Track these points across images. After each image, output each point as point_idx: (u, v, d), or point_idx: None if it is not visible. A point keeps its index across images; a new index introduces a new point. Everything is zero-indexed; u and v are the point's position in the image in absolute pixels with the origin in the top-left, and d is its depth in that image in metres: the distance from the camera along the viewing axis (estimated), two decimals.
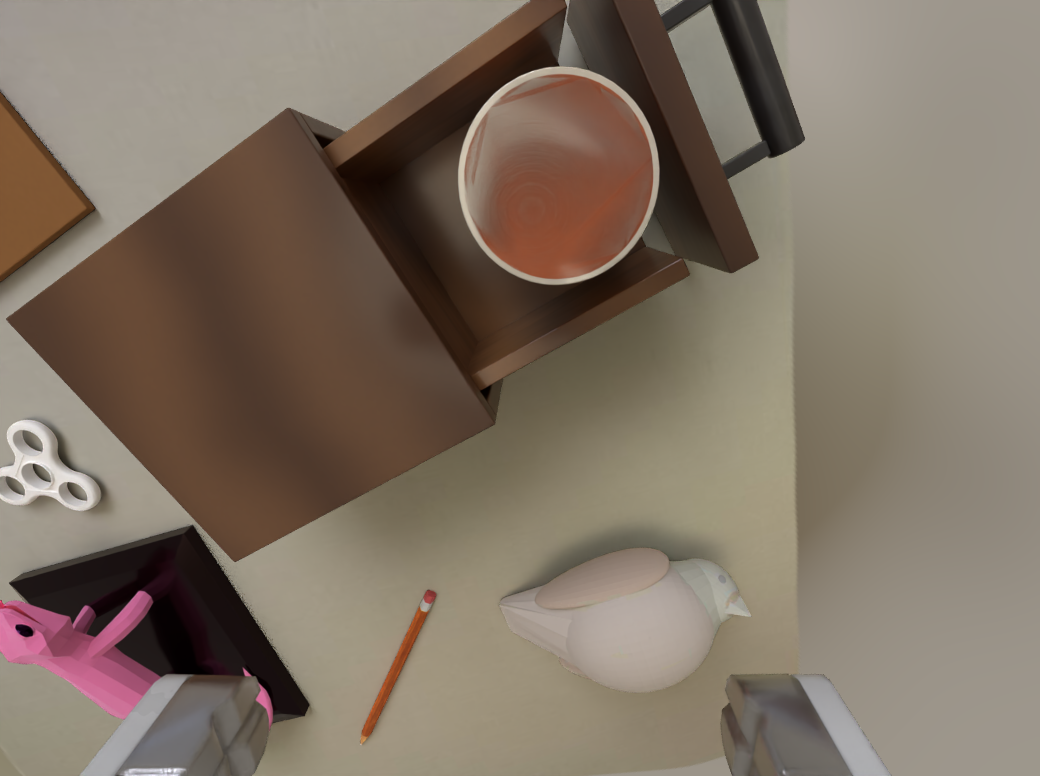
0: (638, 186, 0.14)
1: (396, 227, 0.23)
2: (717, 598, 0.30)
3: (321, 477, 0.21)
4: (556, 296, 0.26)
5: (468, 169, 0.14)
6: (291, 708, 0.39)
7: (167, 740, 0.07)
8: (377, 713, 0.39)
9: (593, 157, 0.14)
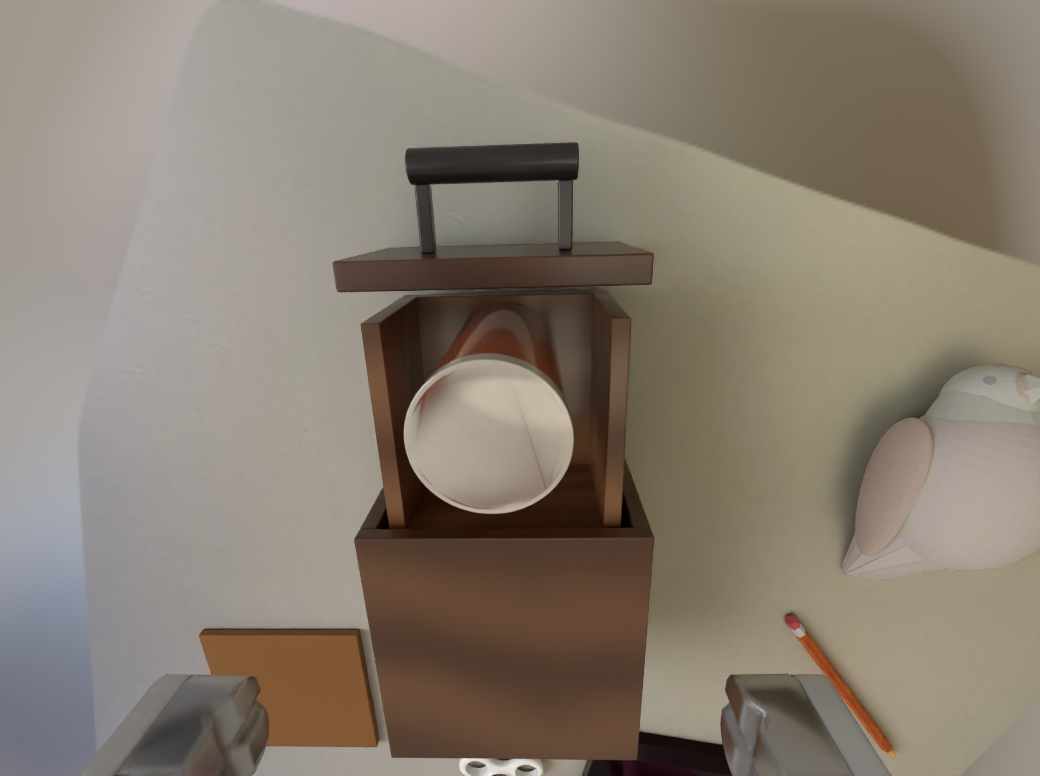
0: (523, 386, 0.16)
1: None
2: (1007, 401, 0.24)
3: (611, 671, 0.24)
4: (590, 386, 0.27)
5: (445, 493, 0.17)
6: None
7: (167, 740, 0.07)
8: (874, 729, 0.37)
9: (484, 409, 0.16)
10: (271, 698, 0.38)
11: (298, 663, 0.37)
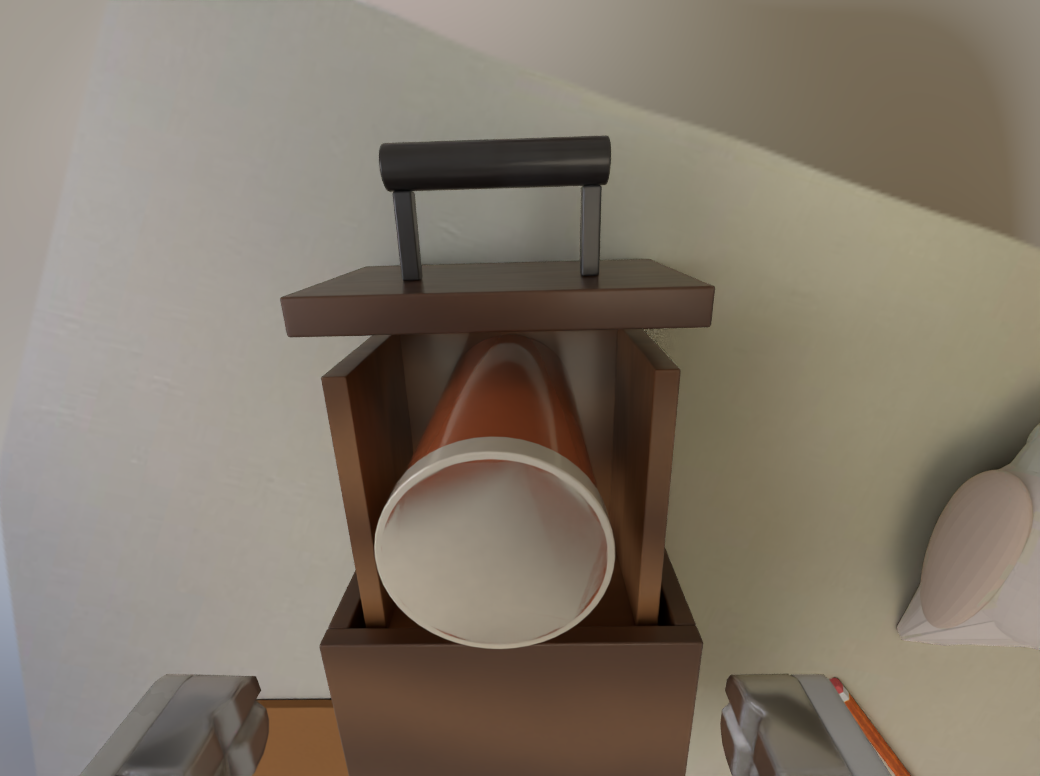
0: (545, 487, 0.11)
1: None
2: None
3: None
4: (612, 433, 0.23)
5: (435, 624, 0.12)
6: None
7: (167, 740, 0.07)
8: None
9: (488, 517, 0.11)
10: None
11: (270, 737, 0.32)
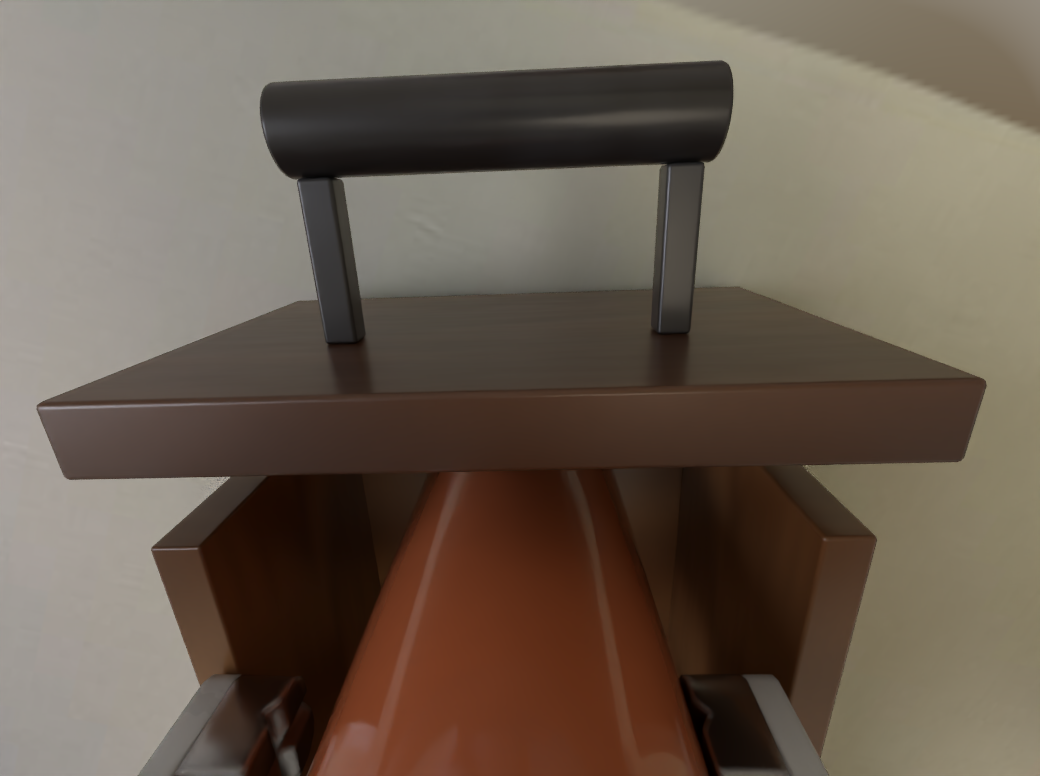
0: None
1: None
2: None
3: None
4: (674, 547, 0.15)
5: None
6: None
7: (222, 741, 0.07)
8: None
9: None
10: None
11: None
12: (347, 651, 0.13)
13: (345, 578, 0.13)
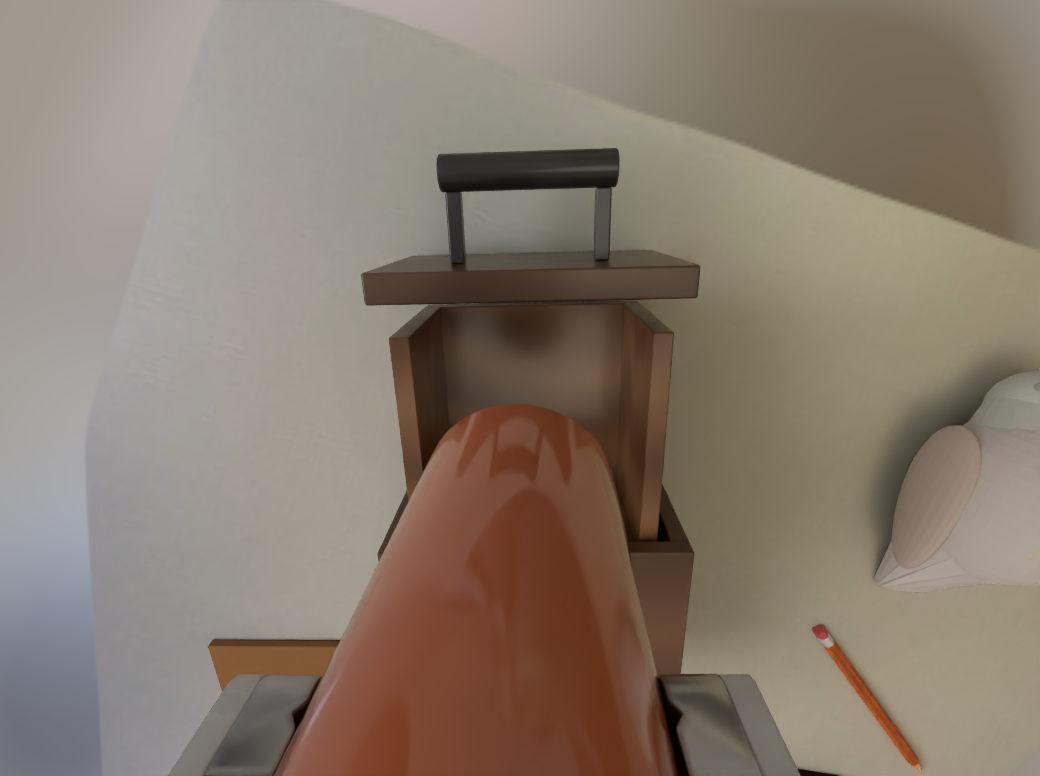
0: None
1: None
2: None
3: None
4: (619, 400, 0.26)
5: None
6: None
7: (251, 741, 0.07)
8: (901, 741, 0.36)
9: None
10: None
11: (310, 675, 0.36)
12: None
13: (438, 402, 0.24)
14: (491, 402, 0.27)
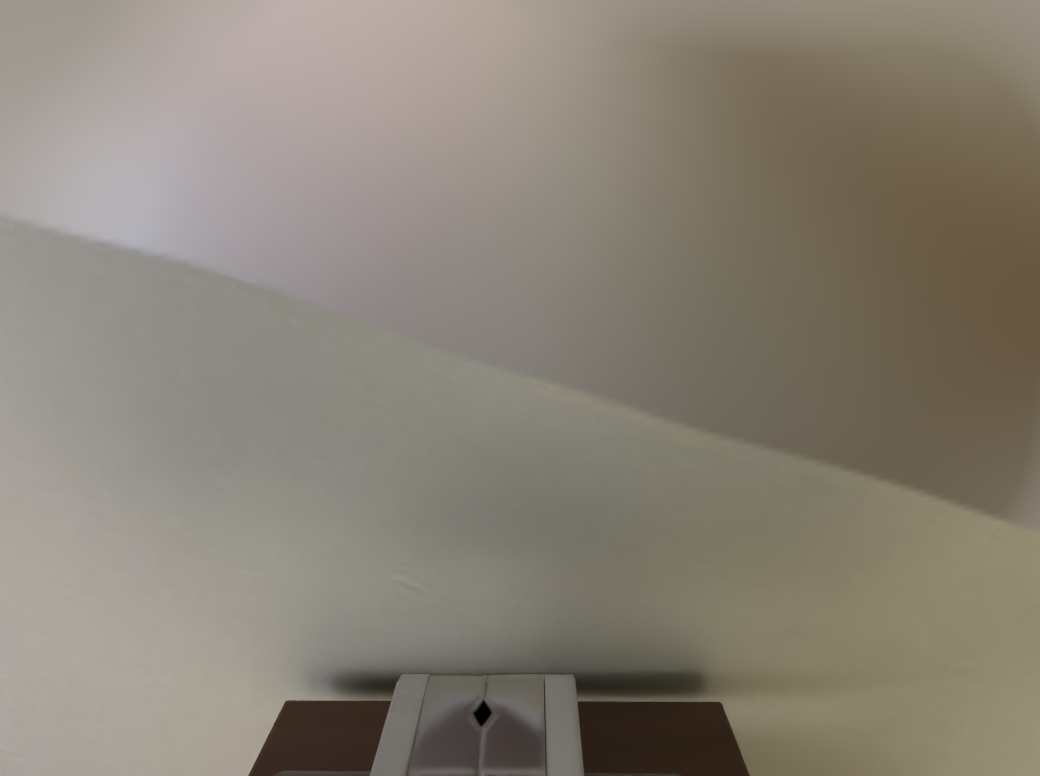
0: None
1: None
2: None
3: None
4: None
5: None
6: None
7: (442, 741, 0.07)
8: None
9: None
10: None
11: None
12: None
13: None
14: None
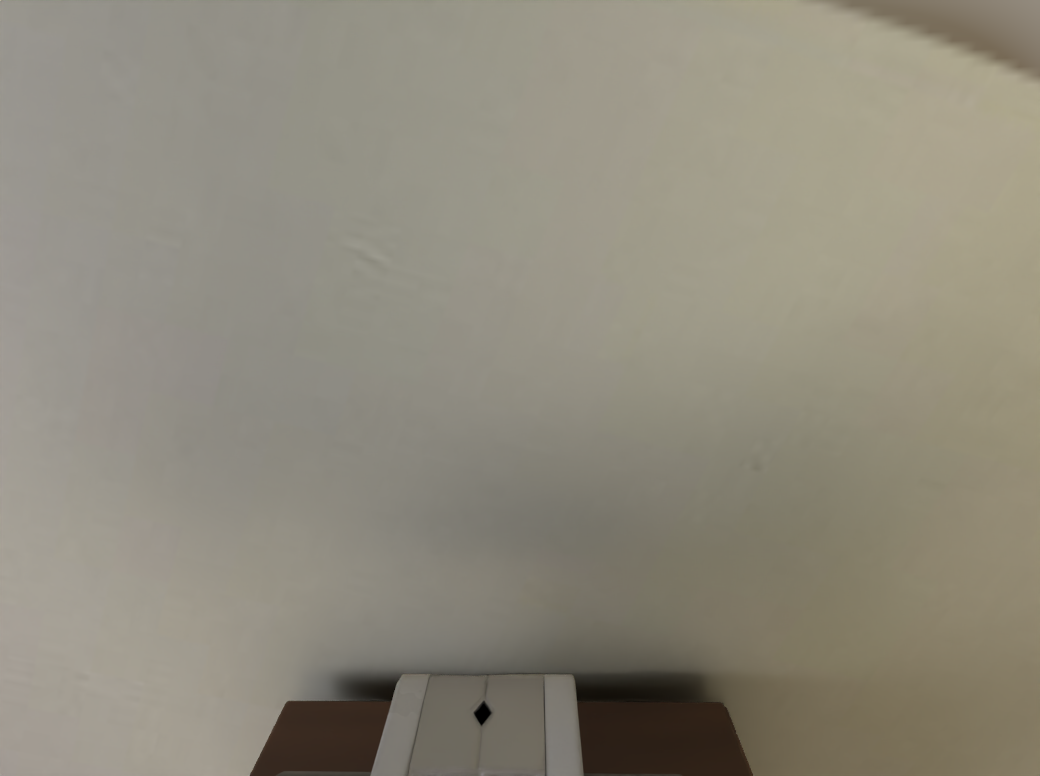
0: None
1: None
2: None
3: None
4: None
5: None
6: None
7: (443, 741, 0.07)
8: None
9: None
10: None
11: None
12: None
13: None
14: None
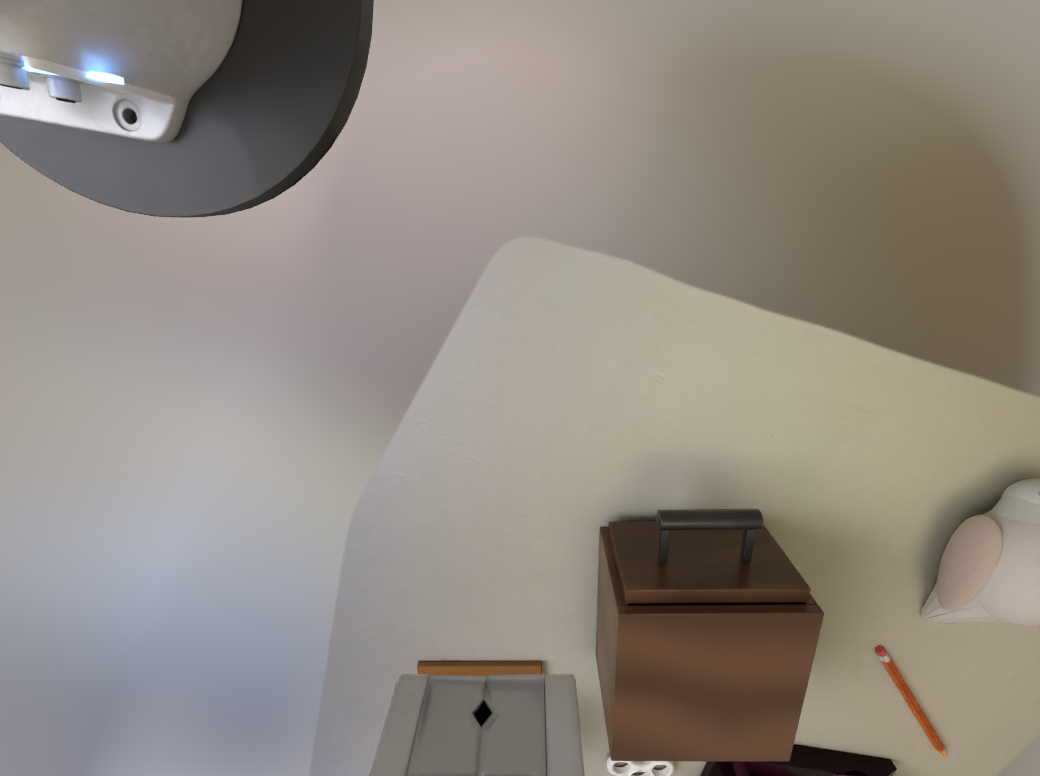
0: None
1: None
2: None
3: (781, 700, 0.35)
4: (735, 604, 0.42)
5: None
6: (884, 771, 0.50)
7: (441, 741, 0.07)
8: (932, 733, 0.49)
9: None
10: None
11: None
12: None
13: None
14: (653, 605, 0.42)
